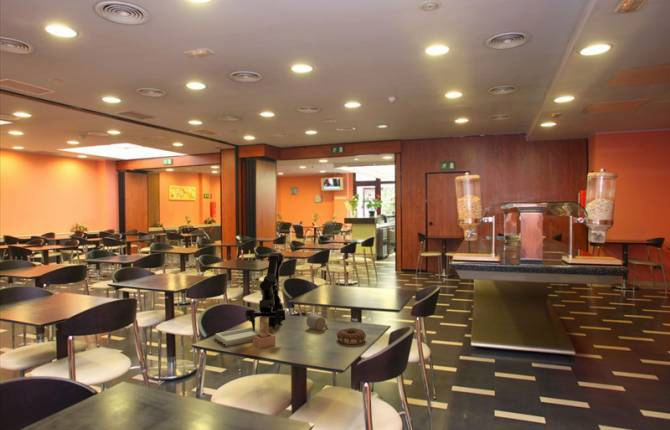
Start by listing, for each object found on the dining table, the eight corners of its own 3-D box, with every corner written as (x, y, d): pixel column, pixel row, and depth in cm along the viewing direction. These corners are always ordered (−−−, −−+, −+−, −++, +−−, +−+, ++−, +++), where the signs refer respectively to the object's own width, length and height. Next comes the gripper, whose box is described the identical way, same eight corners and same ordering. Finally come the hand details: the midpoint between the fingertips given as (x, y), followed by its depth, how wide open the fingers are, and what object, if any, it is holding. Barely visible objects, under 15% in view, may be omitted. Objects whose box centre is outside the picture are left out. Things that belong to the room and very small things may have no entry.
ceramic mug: (315, 332, 215) (315, 317, 215) (305, 328, 221) (306, 314, 221) (331, 328, 222) (331, 314, 222) (321, 325, 228) (321, 311, 228)
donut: (368, 338, 206) (368, 328, 206) (361, 346, 193) (361, 336, 193) (341, 335, 210) (341, 325, 210) (332, 343, 197) (332, 333, 197)
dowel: (265, 342, 198) (265, 316, 198) (270, 344, 195) (270, 317, 195) (258, 344, 196) (258, 317, 196) (262, 346, 193) (262, 319, 192)
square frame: (267, 340, 201) (267, 332, 201) (275, 344, 195) (275, 336, 195) (253, 343, 196) (253, 335, 196) (260, 348, 190) (260, 339, 190)
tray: (253, 331, 216) (253, 326, 215) (266, 338, 204) (266, 333, 204) (215, 338, 204) (215, 333, 203) (227, 346, 192) (227, 340, 192)
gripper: (245, 292, 199) (240, 322, 188) (285, 292, 199) (282, 322, 188) (249, 305, 207) (244, 334, 196) (287, 305, 207) (284, 334, 196)
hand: (263, 331), depth 194 cm, fingers open, 9 cm apart
